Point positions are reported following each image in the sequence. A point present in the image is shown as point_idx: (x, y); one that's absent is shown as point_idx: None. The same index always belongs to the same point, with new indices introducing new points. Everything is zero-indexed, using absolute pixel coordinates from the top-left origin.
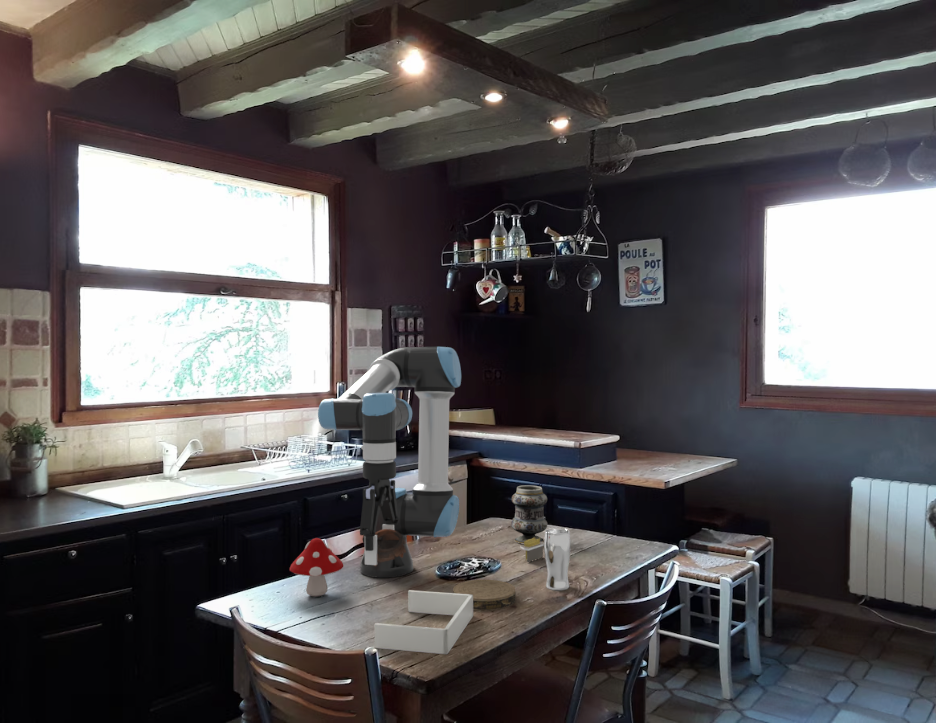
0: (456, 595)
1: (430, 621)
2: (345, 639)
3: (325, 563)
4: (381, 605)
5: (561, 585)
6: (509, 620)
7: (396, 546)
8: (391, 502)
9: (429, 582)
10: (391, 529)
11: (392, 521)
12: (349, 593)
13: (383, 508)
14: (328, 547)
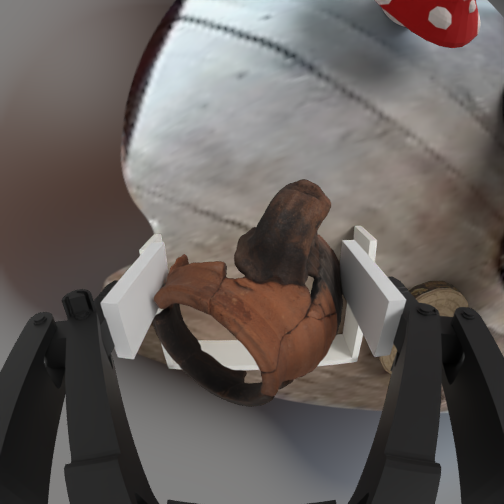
0: (355, 337)
1: (309, 283)
2: (172, 161)
3: (413, 4)
4: (381, 156)
5: (442, 395)
6: (331, 381)
7: (195, 380)
8: (464, 430)
9: (494, 214)
10: (276, 384)
11: (395, 360)
12: (428, 70)
13: (389, 412)
14: (472, 1)
